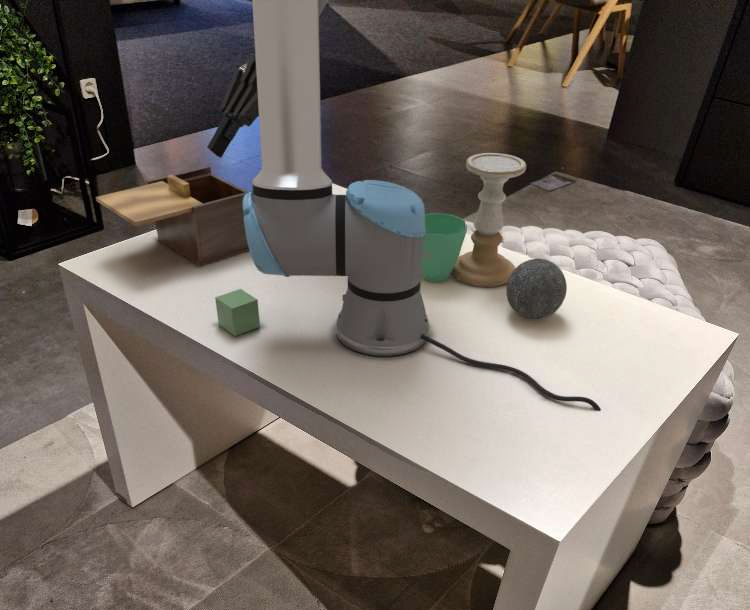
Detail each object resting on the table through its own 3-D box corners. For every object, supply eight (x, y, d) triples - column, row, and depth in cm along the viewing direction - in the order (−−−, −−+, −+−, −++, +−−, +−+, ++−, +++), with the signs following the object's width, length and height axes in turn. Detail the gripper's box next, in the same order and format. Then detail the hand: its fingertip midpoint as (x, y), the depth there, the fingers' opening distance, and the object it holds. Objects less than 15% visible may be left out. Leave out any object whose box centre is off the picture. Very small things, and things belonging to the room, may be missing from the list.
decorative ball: (561, 333, 124) (572, 277, 117) (501, 327, 125) (509, 271, 118) (559, 305, 131) (571, 251, 125) (503, 300, 132) (511, 246, 126)
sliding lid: (204, 208, 135) (202, 190, 133) (135, 226, 128) (132, 208, 126) (163, 185, 143) (160, 168, 141) (96, 201, 137) (92, 183, 134)
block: (260, 326, 123) (257, 299, 120) (235, 336, 121) (231, 308, 118) (243, 315, 126) (240, 288, 123) (218, 324, 124) (214, 297, 120)
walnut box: (263, 248, 147) (258, 190, 139) (202, 267, 140) (193, 207, 132) (215, 221, 156) (208, 165, 149) (156, 237, 149) (145, 180, 142)
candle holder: (527, 281, 138) (545, 169, 125) (468, 291, 135) (481, 177, 121) (495, 255, 146) (509, 147, 133) (439, 264, 143) (448, 154, 129)
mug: (472, 278, 139) (478, 225, 132) (435, 293, 134) (440, 239, 127) (418, 252, 147) (421, 201, 140) (381, 266, 142) (383, 214, 135)
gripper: (313, 60, 136) (246, 173, 138) (272, 47, 143) (209, 155, 145) (289, 29, 129) (219, 149, 132) (246, 18, 136) (181, 131, 139)
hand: (214, 152), depth 139 cm, fingers closed
